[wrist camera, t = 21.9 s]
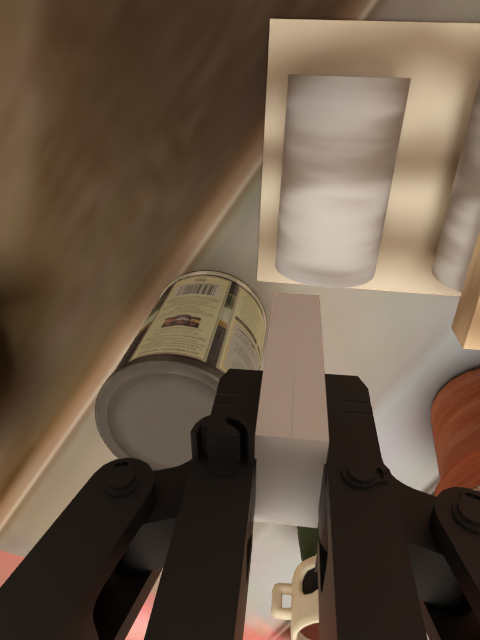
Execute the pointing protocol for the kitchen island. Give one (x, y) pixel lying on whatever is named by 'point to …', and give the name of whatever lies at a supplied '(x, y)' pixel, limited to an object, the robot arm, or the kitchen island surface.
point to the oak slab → (469, 306)
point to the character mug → (301, 590)
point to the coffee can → (179, 367)
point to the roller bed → (419, 134)
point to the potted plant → (458, 432)
